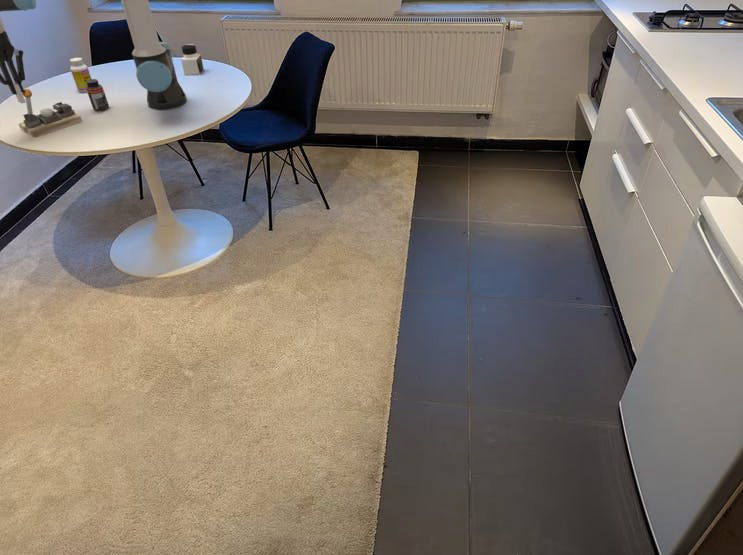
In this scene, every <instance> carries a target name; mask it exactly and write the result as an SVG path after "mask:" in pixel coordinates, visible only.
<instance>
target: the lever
mask: <svg viewBox="0 0 743 555" xmlns="http://www.w3.org/2000/svg"><path fill="white" fill-rule="evenodd" d="M23 89H24V92H22V94H23V97H24V99H25V102H26V111H27V114H28V116H30V115H33V114H34V113H33V106H32V100H31V97H32V95H33V92H32V90H30V89H28V88H23Z"/></svg>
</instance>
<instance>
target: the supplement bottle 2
mask: <svg viewBox="0 0 743 555" xmlns="http://www.w3.org/2000/svg"><path fill="white" fill-rule="evenodd" d="M87 85H88V86H87V88H86V90H87V92H86V93H87V95H88V97H89V101H90V103H91V106H92V108H93V110H94V111H96V112H103V111H107V110H108V109H109V108H110V105H109V102H108V99H107V96H106V93H105V90H104V87H103V86H102V84H99V80H98V79H96V78H91V79H90V80H87Z"/></svg>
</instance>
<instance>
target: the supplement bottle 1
mask: <svg viewBox="0 0 743 555" xmlns="http://www.w3.org/2000/svg"><path fill="white" fill-rule="evenodd" d="M69 62H70V64H71V66H70V67H69V68H70V72H71V75H72V78H73V81H74V84H75V86H76V89H77V91H78V92H79V93H87V90H86V88H87V86H88V85H87V80H90V79H92V76H91V74H90V70H89V68H88V66H87V65H86V64H84V60H83V58H82V57H74V58H70V59H69Z"/></svg>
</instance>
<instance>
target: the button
mask: <svg viewBox="0 0 743 555" xmlns="http://www.w3.org/2000/svg"><path fill="white" fill-rule="evenodd" d="M52 110H53V108H43V109H41V110H40V111H39V112H40V113H39V114H41V115H42V117H43V118H47V117H50V116H54V114H53V111H54V110H53V111H52Z"/></svg>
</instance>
